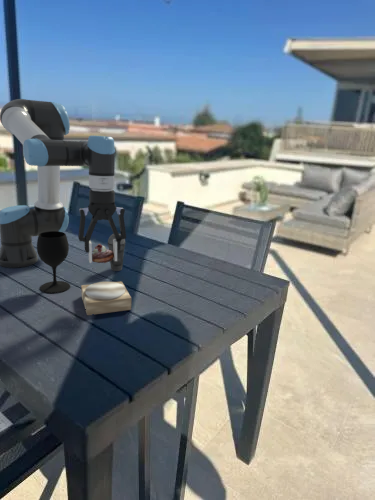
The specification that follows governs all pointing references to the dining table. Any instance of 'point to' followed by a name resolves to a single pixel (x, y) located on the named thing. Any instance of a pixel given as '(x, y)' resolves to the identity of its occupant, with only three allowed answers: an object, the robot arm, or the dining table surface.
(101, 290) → the plinth
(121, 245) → the beverage cup
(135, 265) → the dining table surface
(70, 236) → the dining table surface
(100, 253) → the pastry
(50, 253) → the wine glass
